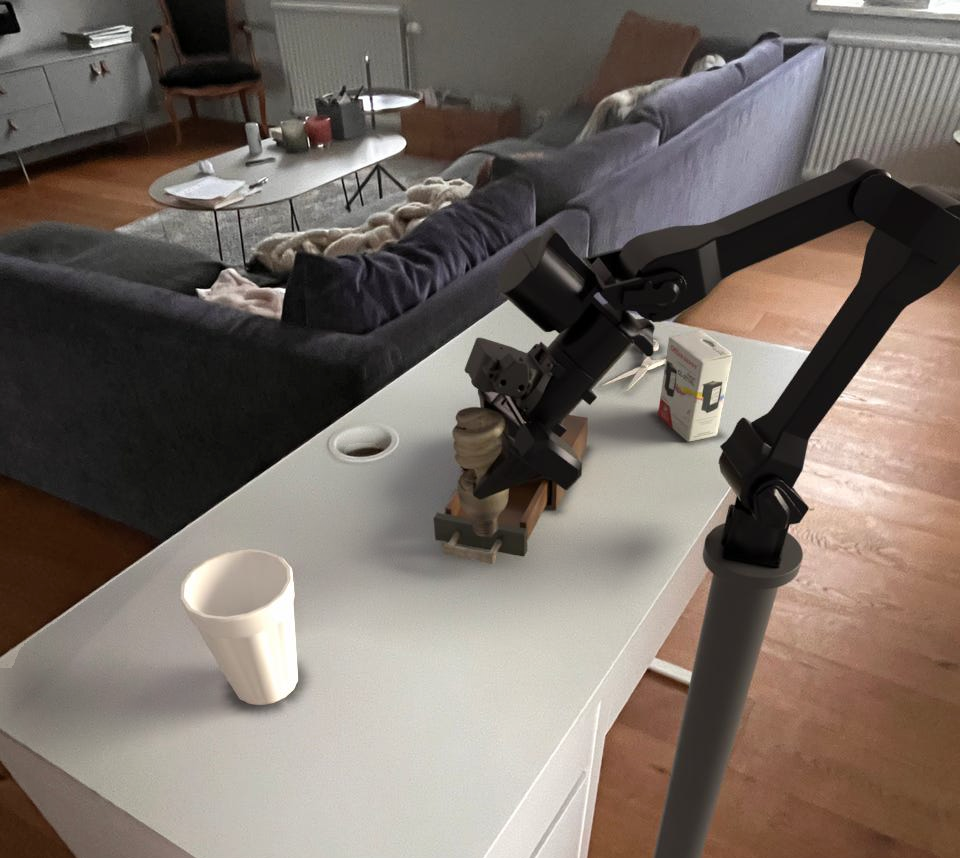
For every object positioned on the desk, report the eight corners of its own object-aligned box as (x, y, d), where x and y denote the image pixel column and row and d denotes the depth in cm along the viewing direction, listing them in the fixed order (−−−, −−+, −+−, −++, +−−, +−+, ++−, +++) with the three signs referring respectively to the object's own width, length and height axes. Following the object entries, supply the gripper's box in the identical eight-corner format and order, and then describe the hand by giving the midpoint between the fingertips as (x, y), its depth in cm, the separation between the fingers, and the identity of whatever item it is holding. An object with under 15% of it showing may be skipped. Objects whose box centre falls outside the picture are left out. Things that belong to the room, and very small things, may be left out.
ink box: (656, 415, 118) (666, 334, 110) (685, 408, 119) (698, 328, 111) (687, 443, 112) (701, 360, 104) (718, 435, 114) (734, 353, 105)
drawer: (514, 577, 91) (514, 554, 89) (422, 559, 94) (420, 536, 92) (558, 490, 103) (559, 468, 101) (476, 476, 106) (475, 455, 104)
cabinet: (555, 510, 102) (557, 476, 98) (463, 494, 105) (462, 461, 102) (586, 449, 112) (588, 417, 109) (501, 436, 115) (501, 404, 112)
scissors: (706, 348, 132) (645, 396, 120) (705, 353, 132) (644, 401, 121) (647, 333, 137) (583, 378, 125) (647, 337, 137) (583, 382, 126)
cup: (207, 667, 83) (170, 566, 74) (303, 638, 86) (278, 537, 77) (226, 736, 77) (188, 634, 68) (329, 702, 79) (306, 599, 70)
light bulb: (518, 546, 87) (516, 418, 76) (469, 558, 86) (460, 430, 75) (501, 516, 90) (497, 391, 80) (453, 527, 89) (443, 402, 79)
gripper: (489, 272, 79) (390, 397, 85) (550, 352, 66) (427, 494, 72) (565, 340, 85) (468, 451, 91) (634, 425, 72) (516, 549, 78)
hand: (469, 482), depth 83 cm, fingers closed on light bulb, 5 cm apart
